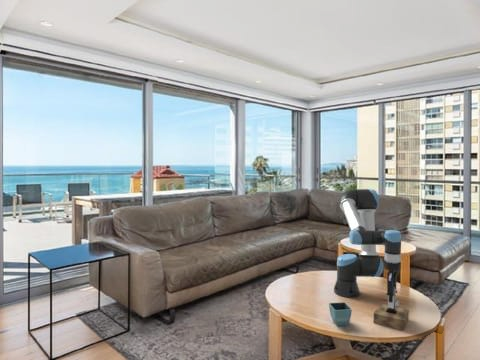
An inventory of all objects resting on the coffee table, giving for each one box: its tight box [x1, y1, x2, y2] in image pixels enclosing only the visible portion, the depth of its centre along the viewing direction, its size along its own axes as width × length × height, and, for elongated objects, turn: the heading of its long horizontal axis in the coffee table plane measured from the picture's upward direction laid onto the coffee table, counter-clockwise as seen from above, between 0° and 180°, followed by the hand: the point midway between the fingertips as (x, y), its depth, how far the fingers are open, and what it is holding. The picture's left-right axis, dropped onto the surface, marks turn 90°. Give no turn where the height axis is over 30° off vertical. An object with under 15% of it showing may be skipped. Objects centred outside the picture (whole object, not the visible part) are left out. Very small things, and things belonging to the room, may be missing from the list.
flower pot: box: [328, 301, 353, 327], centre depth 167 cm, size 9×9×9 cm
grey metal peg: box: [388, 286, 397, 314], centre depth 169 cm, size 3×3×13 cm
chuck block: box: [373, 300, 410, 331], centre depth 175 cm, size 14×26×5 cm, turn 145°
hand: (391, 306), depth 169 cm, fingers closed on grey metal peg, 3 cm apart
